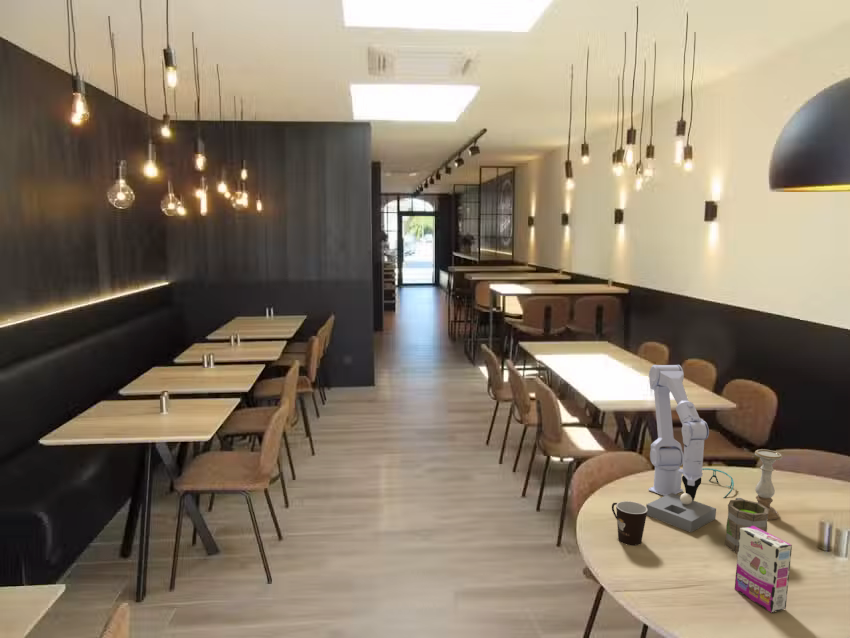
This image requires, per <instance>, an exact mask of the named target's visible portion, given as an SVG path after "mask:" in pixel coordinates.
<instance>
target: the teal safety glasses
mask: <svg viewBox="0 0 850 638" xmlns="http://www.w3.org/2000/svg"><path fill="white" fill-rule="evenodd" d="M704 470H705V471H707V470H708V471H713V472H712V473H713V474H712V476H711V477H710V479H708V482H711V481H712V480H713V478H715V481H716V483H717V484H719V480H718V477H717V475H716V473H717V472H719V473H722V474H724V475H726V476H727V477H729V478H730V485H727V487H728V488H730V490H729V491H728V493H726V494H725V495H724V496H723V497H722V498H723V499H726V498H727V497H728V496H729V495H730V494H731V493H732V492H733V489H734V486H735V485H734V484H735V483H734V479H733V477H732V476H731V475H730V474H728V473H727V472H725V471H722V470H720V469H717V468H704V467H702V471H704Z"/></svg>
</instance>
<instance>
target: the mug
mask: <svg viewBox="0 0 850 638" xmlns="http://www.w3.org/2000/svg"><path fill="white" fill-rule="evenodd" d="M727 509H728V511H727V521H726V526H725V527H726V536H725V542H724V546H725V547H727V548H728V549H730V550H731V551H732V552H733V553H737V554H738V545H739V533H740V528H743V527H749V526H755V527H757V528H759V529H761V530H763V531H765V532H767V533H768V520H767V517H768V512H769V509H768V508H767V507H765V506H763V505H762V504H760V503H758V501H757V502H756V501H754V500H747V499H743V498H742V497H736V498H735V499H730V500H729V502H728V504H727Z"/></svg>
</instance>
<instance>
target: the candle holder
mask: <svg viewBox="0 0 850 638" xmlns="http://www.w3.org/2000/svg"><path fill="white" fill-rule="evenodd" d="M754 456H756V457H758V458H759V459H760V461H761V462H762V465H761V466H760V469H761V476H760V480H759V481H758V482H757V484H756V485H755V488H754V490H755V493H756V496H755V499H756V501H757V503H760V504H762V505H763V506H765V507H767V508H768V509H769V512H768V517H767V521H768V520H769V521H771V520H772V521H773V520H777V519H778V518H779V512H778V511H777V510H776V509H775V508H774V507H773V506H771V504H772V503H773V500H774V499H773V498H772V497H774V495H775V493H776V492H775V487H774V485H773V481H772V476H773V475H772V473H773V472H774V471H775V468H774V467H773V464H774V463H776V461H779V460H782V459H783V455H782V454H781V453H779V452H778V451H775V450H770V449H765V448H764V449H763V448H761V449H757V450H755V451H754Z"/></svg>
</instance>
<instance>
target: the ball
mask: <svg viewBox="0 0 850 638" xmlns="http://www.w3.org/2000/svg"><path fill="white" fill-rule="evenodd" d="M679 496H680V500H681V502H682V503H683V504H686V505H688V504H690V503H691V502H692V497H691V495H689V494H688V493H686V492H684V493H681V495H679Z"/></svg>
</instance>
